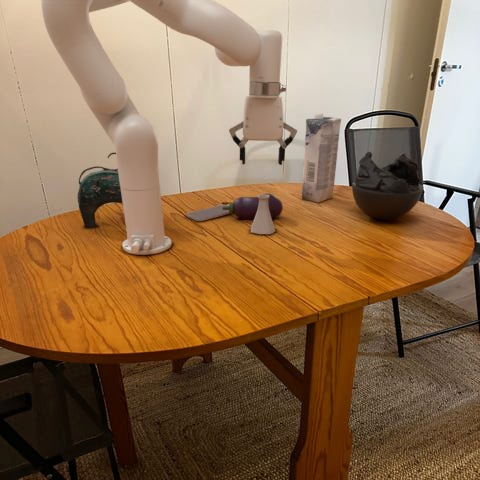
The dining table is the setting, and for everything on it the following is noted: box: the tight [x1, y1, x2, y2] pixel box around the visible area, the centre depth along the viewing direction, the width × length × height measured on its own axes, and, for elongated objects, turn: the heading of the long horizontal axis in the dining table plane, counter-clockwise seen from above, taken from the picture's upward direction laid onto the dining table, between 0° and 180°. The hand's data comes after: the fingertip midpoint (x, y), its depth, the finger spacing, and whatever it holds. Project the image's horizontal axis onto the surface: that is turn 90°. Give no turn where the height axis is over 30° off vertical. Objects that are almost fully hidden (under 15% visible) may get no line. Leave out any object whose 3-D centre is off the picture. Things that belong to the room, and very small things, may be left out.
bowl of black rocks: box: [351, 151, 424, 221], centre depth 130 cm, size 20×20×19 cm
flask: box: [250, 193, 276, 235], centre depth 124 cm, size 7×7×10 cm
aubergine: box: [223, 192, 284, 220], centre depth 134 cm, size 7×18×7 cm, turn 91°
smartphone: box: [186, 204, 230, 222], centre depth 139 cm, size 7×1×15 cm
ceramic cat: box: [77, 151, 123, 229], centre depth 127 cm, size 20×6×20 cm, turn 108°
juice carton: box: [301, 113, 342, 203], centre depth 148 cm, size 9×10×27 cm
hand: (261, 163), depth 117 cm, fingers open, 9 cm apart
